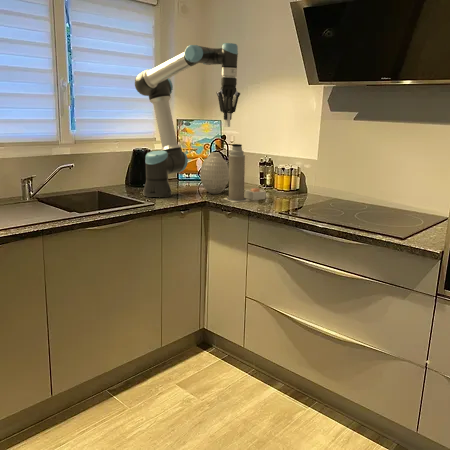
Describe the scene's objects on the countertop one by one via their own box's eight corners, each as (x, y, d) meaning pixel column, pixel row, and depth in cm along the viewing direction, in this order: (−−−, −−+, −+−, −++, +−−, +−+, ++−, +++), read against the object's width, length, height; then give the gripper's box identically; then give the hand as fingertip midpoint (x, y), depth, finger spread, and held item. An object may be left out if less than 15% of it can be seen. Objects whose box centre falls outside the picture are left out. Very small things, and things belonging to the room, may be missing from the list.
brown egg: (249, 195, 248) (249, 188, 247) (256, 195, 250) (256, 187, 249) (254, 197, 244) (254, 189, 243) (260, 196, 247) (261, 189, 246)
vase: (226, 195, 253) (227, 154, 247) (197, 194, 255) (197, 153, 250) (231, 190, 268) (231, 151, 263) (203, 189, 271) (203, 150, 265)
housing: (244, 197, 249) (244, 190, 248) (256, 196, 253) (257, 188, 252) (253, 200, 242) (253, 192, 241) (265, 198, 246) (265, 191, 245)
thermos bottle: (243, 197, 247) (244, 143, 240) (244, 200, 239) (245, 144, 232) (228, 197, 247) (229, 143, 240) (228, 200, 239) (229, 144, 232)
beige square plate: (223, 198, 245) (223, 197, 244) (239, 197, 250) (239, 196, 249) (233, 202, 236) (233, 201, 236) (249, 200, 241) (249, 199, 241)
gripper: (222, 76, 221) (220, 127, 227) (244, 77, 228) (242, 127, 234) (213, 76, 227) (212, 126, 233) (235, 78, 234) (233, 126, 240)
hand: (227, 126), depth 233 cm, fingers closed
